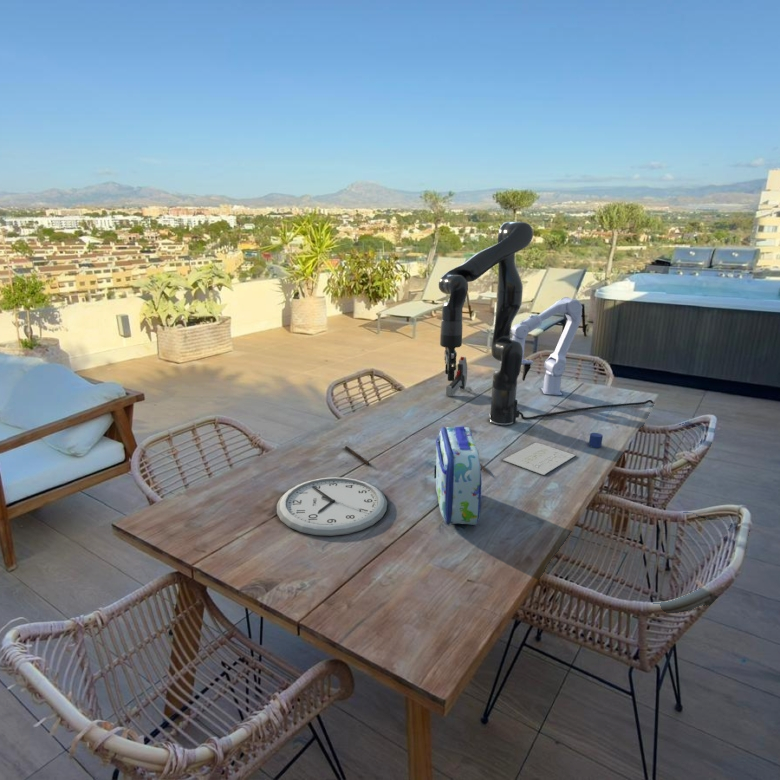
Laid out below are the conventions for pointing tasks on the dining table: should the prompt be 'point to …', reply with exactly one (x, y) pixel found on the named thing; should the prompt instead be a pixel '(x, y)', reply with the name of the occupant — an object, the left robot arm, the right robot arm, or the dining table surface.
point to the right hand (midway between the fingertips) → (514, 379)
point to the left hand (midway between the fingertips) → (449, 377)
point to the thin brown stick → (357, 455)
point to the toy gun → (458, 378)
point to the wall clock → (331, 506)
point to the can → (595, 440)
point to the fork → (483, 468)
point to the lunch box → (458, 476)
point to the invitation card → (539, 458)
